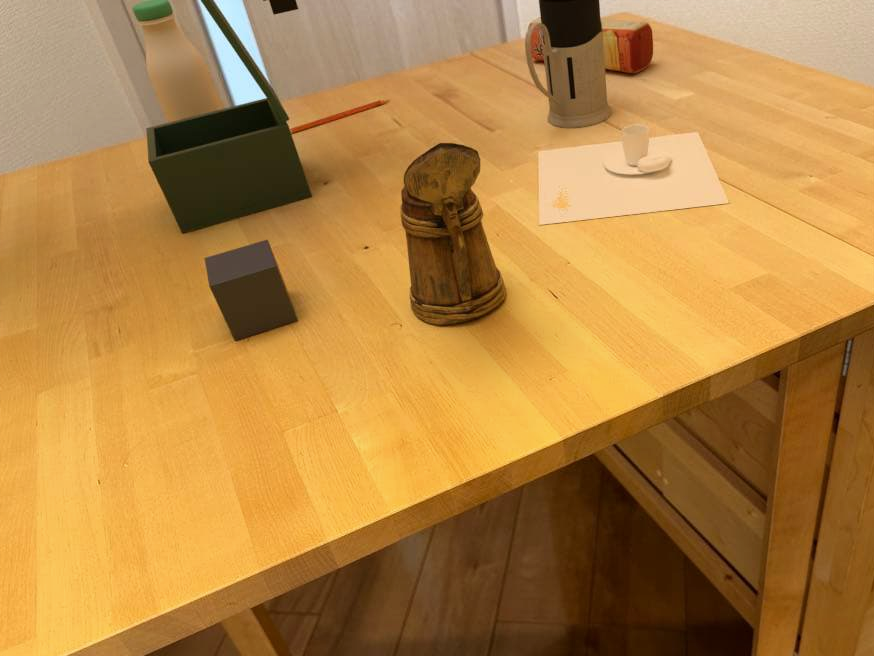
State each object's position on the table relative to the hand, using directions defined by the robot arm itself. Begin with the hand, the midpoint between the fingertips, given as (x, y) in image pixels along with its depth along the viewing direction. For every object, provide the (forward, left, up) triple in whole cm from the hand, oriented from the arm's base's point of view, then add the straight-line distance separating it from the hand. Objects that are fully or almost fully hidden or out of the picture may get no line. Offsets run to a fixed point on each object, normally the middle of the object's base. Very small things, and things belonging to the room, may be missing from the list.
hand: (279, 4), depth 87 cm
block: (+10, -32, -20) cm, 39 cm away
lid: (-5, -4, -3) cm, 7 cm away
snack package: (+25, +40, -20) cm, 51 cm away
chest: (-9, -7, -20) cm, 23 cm away
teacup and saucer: (+39, 0, -20) cm, 44 cm away
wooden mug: (+30, -29, -20) cm, 47 cm away
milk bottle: (-23, +6, -20) cm, 31 cm away
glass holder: (+28, +16, -20) cm, 38 cm away
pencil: (-9, +19, -20) cm, 29 cm away
